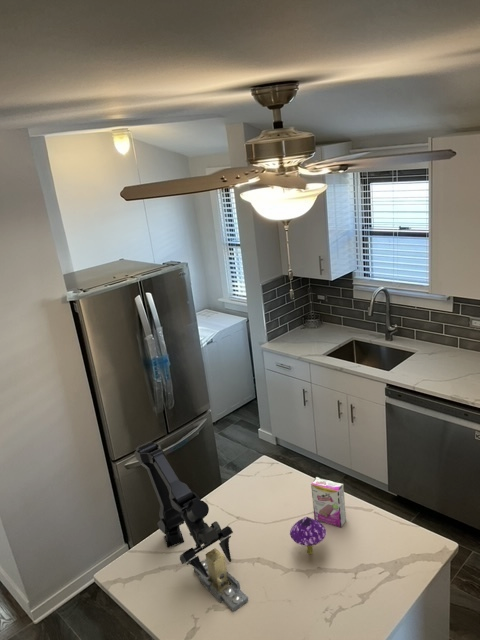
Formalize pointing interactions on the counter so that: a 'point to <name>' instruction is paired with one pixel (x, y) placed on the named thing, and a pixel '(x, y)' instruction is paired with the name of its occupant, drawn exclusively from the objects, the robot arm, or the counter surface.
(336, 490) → the candy bar box
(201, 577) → the chain ends
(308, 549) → the decorative mushroom
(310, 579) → the counter surface
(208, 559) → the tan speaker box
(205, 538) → the robot arm
